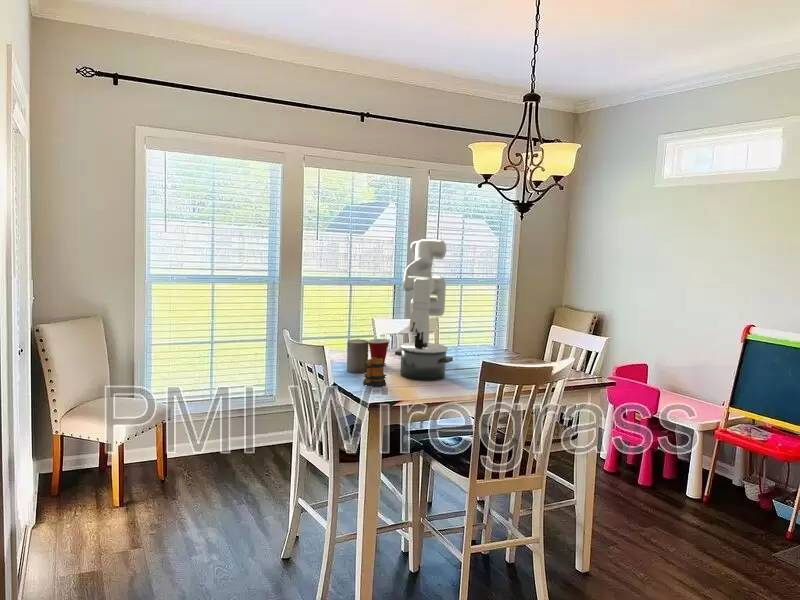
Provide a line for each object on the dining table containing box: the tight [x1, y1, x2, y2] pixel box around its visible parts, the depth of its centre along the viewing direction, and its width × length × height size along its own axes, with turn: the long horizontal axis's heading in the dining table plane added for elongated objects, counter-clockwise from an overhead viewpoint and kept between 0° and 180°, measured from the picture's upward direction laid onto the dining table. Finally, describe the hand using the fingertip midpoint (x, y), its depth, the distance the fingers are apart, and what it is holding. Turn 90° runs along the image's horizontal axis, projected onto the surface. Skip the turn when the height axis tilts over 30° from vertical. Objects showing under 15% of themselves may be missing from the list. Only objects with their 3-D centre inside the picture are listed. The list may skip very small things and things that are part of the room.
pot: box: [394, 348, 454, 382], centre depth 281 cm, size 26×20×12 cm
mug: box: [362, 357, 387, 388], centre depth 259 cm, size 13×10×12 cm
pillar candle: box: [346, 338, 369, 374], centre depth 284 cm, size 10×10×15 cm
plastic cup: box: [367, 338, 391, 363], centre depth 300 cm, size 11×11×12 cm
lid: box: [400, 342, 448, 353], centre depth 280 cm, size 21×22×3 cm
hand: (418, 347), depth 275 cm, fingers closed
